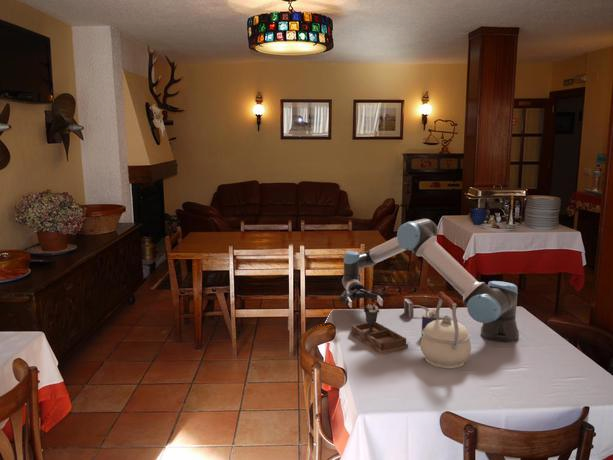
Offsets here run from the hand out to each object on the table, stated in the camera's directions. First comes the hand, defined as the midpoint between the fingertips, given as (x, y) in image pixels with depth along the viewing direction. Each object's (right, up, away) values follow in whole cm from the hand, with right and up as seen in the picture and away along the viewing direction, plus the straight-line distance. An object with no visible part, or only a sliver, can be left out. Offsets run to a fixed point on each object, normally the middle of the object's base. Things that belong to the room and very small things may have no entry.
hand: (366, 303), depth 225 cm
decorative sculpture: (+28, -9, +19) cm, 35 cm away
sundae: (+1, -12, -5) cm, 13 cm away
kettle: (+26, -17, -26) cm, 41 cm away
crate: (+4, -14, -9) cm, 17 cm away
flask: (+27, -13, -5) cm, 31 cm away
